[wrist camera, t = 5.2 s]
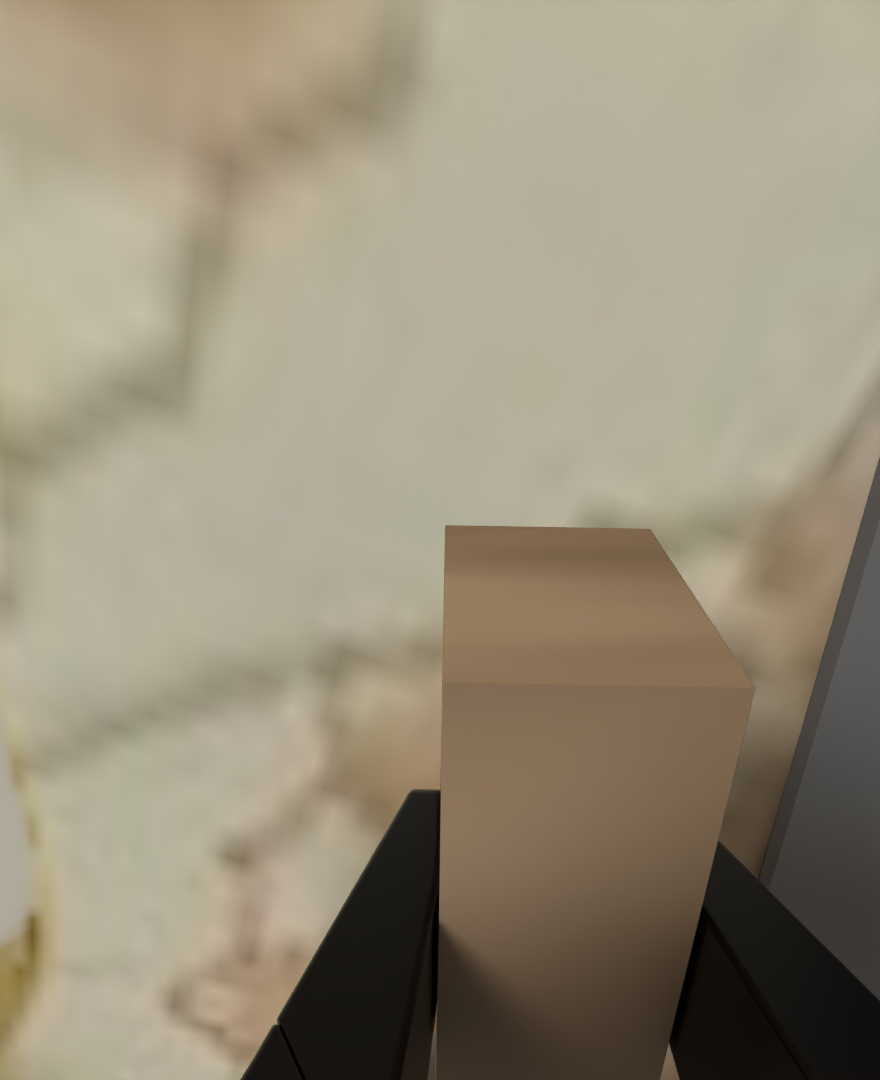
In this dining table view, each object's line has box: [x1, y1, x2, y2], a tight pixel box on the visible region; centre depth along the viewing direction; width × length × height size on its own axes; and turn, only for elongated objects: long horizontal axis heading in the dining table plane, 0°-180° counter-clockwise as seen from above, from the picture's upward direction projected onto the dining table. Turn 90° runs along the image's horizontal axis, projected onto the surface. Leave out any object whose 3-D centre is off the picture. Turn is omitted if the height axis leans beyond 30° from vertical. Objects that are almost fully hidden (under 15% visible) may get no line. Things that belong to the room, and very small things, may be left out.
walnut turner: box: [427, 525, 755, 1080], centre depth 10 cm, size 14×5×3 cm, turn 179°
